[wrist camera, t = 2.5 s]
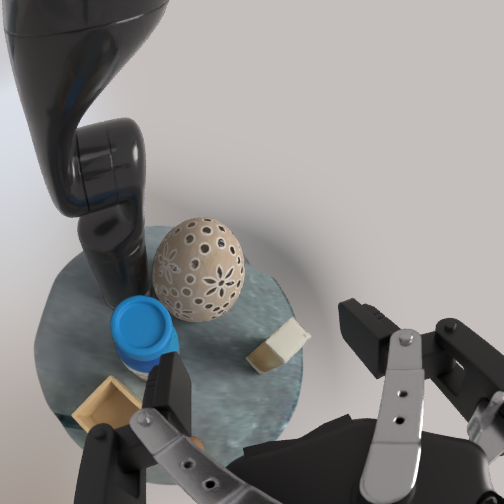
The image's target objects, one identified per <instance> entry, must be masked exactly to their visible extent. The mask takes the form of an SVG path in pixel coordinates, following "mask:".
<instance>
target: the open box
mask: <svg viewBox="0 0 504 504" xmlns="http://www.w3.org/2000/svg"><path fill="white" fill-rule="evenodd" d="M142 403H143V402H142V401H141V400H140V399H138V398H137V397H136V396H135V395H134V394H133V393H132V392H131V391H130V390H129V389H128V388H127V387H126V386H125V385H124V384H123V383H122V382H121V381H119V380H118V379H116V378H115V377H113V376H112V375H110V376H109V377H108V378H107V379H106V380H105V381H104V382H103V383H102V384H101V385H100V386H99V387H98V388H97V389H96V390H95V391H94V392H93V393H92V394H91V395H90V396H89V397H88V398H87V399H86V400H85V401H84V402H83V403H82V404H81V405H80V406H79V407H78V408H77V409H76V410H75V411H74V412H73V414H72V415H71V416H72V417H73V418H74V419H75V420H76V421H77V422H78V424H79V425H80V426H81V427H82V428H83V429H84V430H85V431H86V432H87V433H88V432H89V430H90V429H91V428H92V427H93V426H95V425H97V424H100V423H107V424H109V425H111V426H112V427H113V429H116V428H119V427H122V426H125V425H128V424H130V419H131V417H132V415H133V414H134V413H135V412H137V411H138V410H140V409H141V408H142Z"/></svg>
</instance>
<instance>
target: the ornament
mask: <svg viewBox="0 0 504 504" xmlns="http://www.w3.org/2000/svg"><path fill="white" fill-rule="evenodd" d="M222 231H224V232H222ZM204 232H206V233H208V234H205V233H204ZM186 240H187V242H186ZM220 240H224V243H223V242H221V241H220ZM218 241H219V242H218ZM219 243H220V244H221V245H223V247H221V246H220V245H219ZM238 244H239V243H238V241H237V239H236V237H235V236H234V234H233V233H232V232H231V231H230V230H229V229H228V228H227V227H226V226H225V225H223V224H222V223H220V222H218V221H216V220H214V219H210V218H193V219H189V220H186V221H184V222H182V223H181V224H179V225H177V226H176V227H174V228H173V229H172V230H171V231H170V232H169V233H168V234H167V235H166V236H165V238H164V239H163V240H162V242H161V244H160V246H159V247H158V249H157V252H158V253H157V252H156V254H157V255H156V254H155V257H154V261H153V266H152V282H153V286H154V290H155V293H156V296H157V298H158V297H159V298H158V300H159V299H160V300H159V301H160V303H162V304H163V305H164V306H165V308H166V309H167V311H168V312H169V313H171V314H172V315H173V316H175V317H177V318H179V319H181V320H184V321H188V322H194V323H203V321H205V322H208V321H211V320H214V319H216V318H218V317H220V316H222V315H223V314H224V313H226V312H227V311H228V310H229V309H230V308H231V307H232V306H233V305H234V303H235V301H236V300H237V298H238V297H239V295H240V292H241V289H242V286H243V282H244V274H245V267H244V258H243V254H242V250H241V247H240V245H239V246H238ZM200 248H201V250H202V251H201V250H200ZM234 249H235V251H234ZM171 252H172V253H171ZM159 255H160V256H159ZM239 257H240V258H239ZM238 259H239V262H238ZM165 260H166V263H165V264H164V261H165ZM154 264H155V270H154ZM191 264H192V265H193V266H191ZM175 267H177V270H176V271H173V269H174V268H175ZM220 268H221V269H222V271H221V269H220ZM230 270H231V271H230ZM229 271H230V273H229V274H228V275H227V273H228V272H229ZM159 272H161V273H162V274H161V275H159ZM217 273H219V274H220V276H218V274H217ZM230 281H232V284H230V283H228V282H230ZM215 282H217V283H215ZM218 282H220V283H219V284H218ZM223 282H224V284H223ZM157 288H158V289H157ZM222 288H223V289H224V292H223V289H222ZM158 290H159V291H158ZM164 290H165V293H164V292H163V291H164ZM231 296H233V298H232V299H230V297H231ZM167 300H168V301H169V302H170V303H168V302H167ZM170 308H171V309H172V310H171V309H170ZM217 310H218V311H217ZM215 316H217V317H215ZM211 318H212V319H211Z"/></svg>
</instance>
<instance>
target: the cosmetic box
mask: <svg viewBox="0 0 504 504" xmlns="http://www.w3.org/2000/svg"><path fill="white" fill-rule="evenodd" d="M310 338H311V335H310V334H309V333H308V332H307V331H306V330H305V329H304V328H303V327H302V326H301V324H299V322H298V321H297V320H295V319H294V318H293V317H291V318H290V319H289V320H288V321H287V322H285V323H284V324H283V325H282V326H281V327H280V328H279V329H278V330H276V331H275V332H274V333H273V334H272V335H271V336H270V337H269V338H267V339H266V340H265V341H264V342H263V343H262V344H261V345H259V346H258V347H257V348H256V349H255V350H254V351H253V352H252V353H250V354H249V355H248V356H247V357H246V360H247V361H248V362H249V363H250V364H251V366H252V367H253V368H254V369H255V370H256V371H257V372H258V373H259V374H260V375H262V374H264V373H266V372H268V371H271V370H273V369H275V368H277V367H279V366H281V365H283V364H285V363H286V362H287V361H288V360H289V359H290V358H291V357H292V356H293V355H294V354H295V353H296V352H297V351H298V350H299V349H300V348H301V347H302V346H303V345H304V344H305V343H306V342H307V341H308V340H309V339H310Z"/></svg>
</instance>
